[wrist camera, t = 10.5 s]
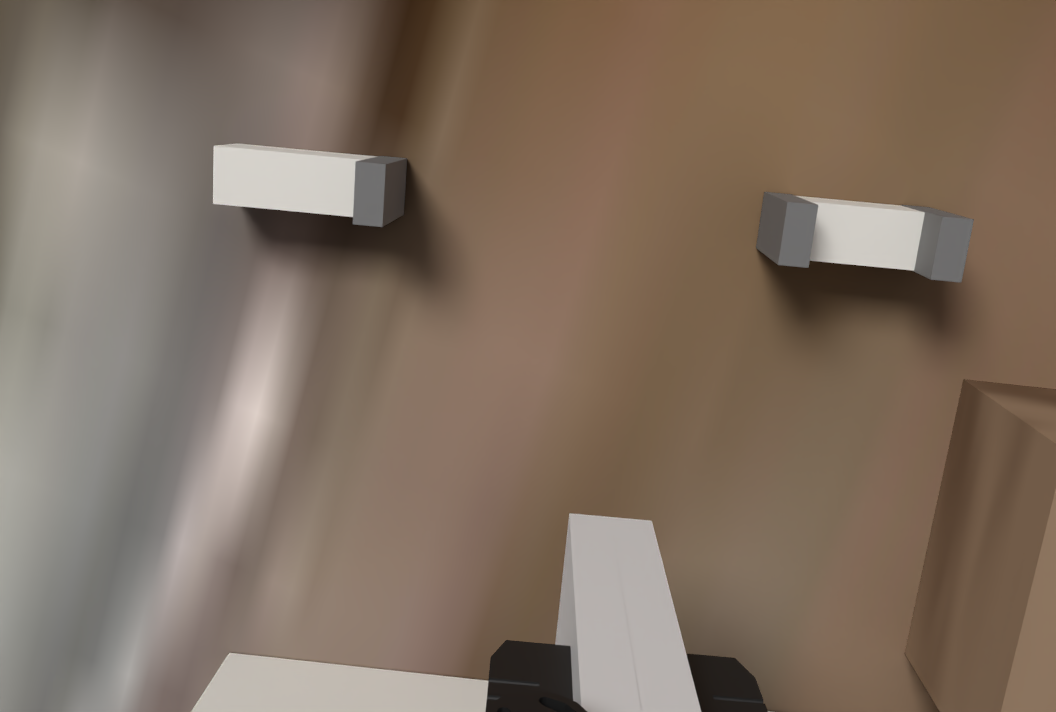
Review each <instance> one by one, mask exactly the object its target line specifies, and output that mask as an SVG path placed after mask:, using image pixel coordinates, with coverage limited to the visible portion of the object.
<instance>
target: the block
mask: <svg viewBox="0 0 1056 712" xmlns="http://www.w3.org/2000/svg"><path fill="white" fill-rule="evenodd" d="M905 655H906V657H907V658H908V660H909V662H910V663H911V665H912V667H913V668H914V670H915V672H916V673H917V675H918V677H919V678H920V680H921V681H922V683H923V685H924V686H925V688H926V690H927V691H928V693H929V695H930V696H931V698H932V700H933V701H934V703H935V705H936V706H937V708H938V710H939V711H940V712H1056V389H1048V388H1039V387H1029V386H1020V385H1011V384H1002V383H993V382H983V381H974V380H965V379H964V380H963V384H962V389H961V394H960V398H959V403H958V408H957V412H956V417H955V422H954V426H953V431H952V435H951V440H950V445H949V449H948V454H947V459H946V463H945V468H944V473H943V477H942V482H941V487H940V491H939V496H938V501H937V505H936V510H935V514H934V519H933V524H932V528H931V533H930V538H929V542H928V547H927V552H926V556H925V561H924V566H923V570H922V575H921V579H920V584H919V589H918V593H917V598H916V603H915V607H914V612H913V617H912V621H911V626H910V631H909V635H908V640H907V645H906V649H905Z"/></svg>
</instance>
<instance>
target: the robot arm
mask: <svg viewBox="0 0 1056 712" xmlns="http://www.w3.org/2000/svg"><path fill="white" fill-rule="evenodd" d="M486 712H768V711H767V708H766V706H765V704H763V698H762V695H761V692H760V690H759V687H758V684H757V681H756V679H755V677H754V676H753V675H752V674H751V673H750V672H748V671H747V670H746V669H745V668H744V667H743V666H742V665H741V664H740V663H739V662H738V661H737V660H736V659H735V658H728V657H717V656H706V655H694V654H686V651H685V647H684V643H683V640H682V636H681V632H680V628H679V624H678V620H677V616H676V613H675V609H674V605H673V601H672V597H671V593H670V590H669V586H668V582H667V578H666V574H665V570H664V566H663V563H662V559H661V555H660V551H659V547H658V543H657V540H656V536H655V532H654V528H653V524H652V521H648V520H637V519H626V518H615V517H604V516H593V515H582V514H570V513H569V522H568V531H567V541H566V550H565V560H564V569H563V578H562V588H561V597H560V606H559V616H558V625H557V634H556V644H543V643H532V642H521V641H510V640H506V641H505V642H504V643H503V644H502V645H501V646H500V648H499V649H498V650H497V651H496V652H495V653H494V654H493V655H492V656H491V661H490V671H489V681H488V691H487V701H486Z"/></svg>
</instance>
